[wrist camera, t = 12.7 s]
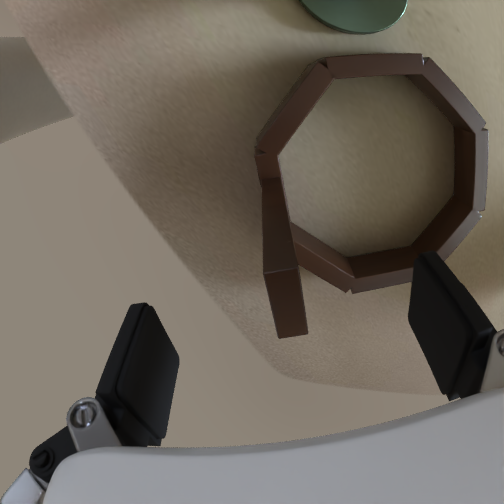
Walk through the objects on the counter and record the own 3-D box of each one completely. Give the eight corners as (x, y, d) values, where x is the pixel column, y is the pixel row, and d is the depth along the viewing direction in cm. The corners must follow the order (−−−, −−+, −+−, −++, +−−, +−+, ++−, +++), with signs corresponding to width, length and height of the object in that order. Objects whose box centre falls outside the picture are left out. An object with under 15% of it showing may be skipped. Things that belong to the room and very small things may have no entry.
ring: (283, 282, 27) (295, 420, 16) (238, 72, 19) (208, 62, 7) (460, 248, 25) (538, 348, 14) (460, 57, 17) (594, 75, 5)
